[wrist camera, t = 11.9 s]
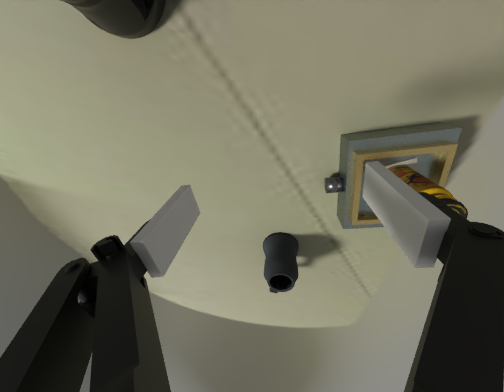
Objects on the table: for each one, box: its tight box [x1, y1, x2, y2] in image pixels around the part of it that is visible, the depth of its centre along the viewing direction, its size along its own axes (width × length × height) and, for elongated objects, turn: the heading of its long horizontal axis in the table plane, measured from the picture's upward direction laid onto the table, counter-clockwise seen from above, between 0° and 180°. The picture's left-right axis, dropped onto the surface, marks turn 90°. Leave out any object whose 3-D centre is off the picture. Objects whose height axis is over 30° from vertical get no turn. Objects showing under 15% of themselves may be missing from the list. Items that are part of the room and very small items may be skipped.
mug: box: [263, 232, 298, 293], centre depth 48 cm, size 12×9×11 cm
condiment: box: [385, 157, 468, 219], centre depth 30 cm, size 7×8×12 cm
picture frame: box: [325, 122, 463, 229], centre depth 37 cm, size 18×19×6 cm
